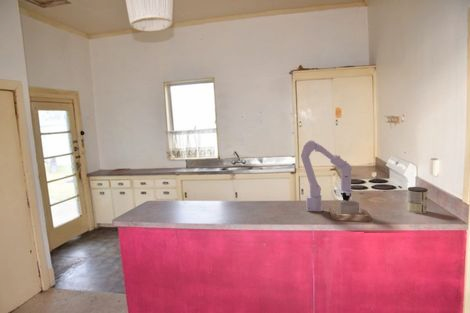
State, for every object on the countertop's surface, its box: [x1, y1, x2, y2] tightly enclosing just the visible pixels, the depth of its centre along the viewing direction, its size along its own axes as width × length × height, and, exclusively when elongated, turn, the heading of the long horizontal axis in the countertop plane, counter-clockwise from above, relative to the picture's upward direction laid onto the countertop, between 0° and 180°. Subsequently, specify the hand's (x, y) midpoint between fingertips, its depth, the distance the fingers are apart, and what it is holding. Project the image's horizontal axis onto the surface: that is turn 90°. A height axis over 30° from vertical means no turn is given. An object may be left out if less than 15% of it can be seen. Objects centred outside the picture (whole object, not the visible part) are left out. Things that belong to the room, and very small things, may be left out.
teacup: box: [339, 200, 360, 215], centre depth 186 cm, size 14×11×8 cm
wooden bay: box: [329, 206, 372, 222], centre depth 184 cm, size 20×17×3 cm
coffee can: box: [407, 186, 428, 215], centre depth 190 cm, size 10×10×14 cm
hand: (345, 204), depth 194 cm, fingers closed
